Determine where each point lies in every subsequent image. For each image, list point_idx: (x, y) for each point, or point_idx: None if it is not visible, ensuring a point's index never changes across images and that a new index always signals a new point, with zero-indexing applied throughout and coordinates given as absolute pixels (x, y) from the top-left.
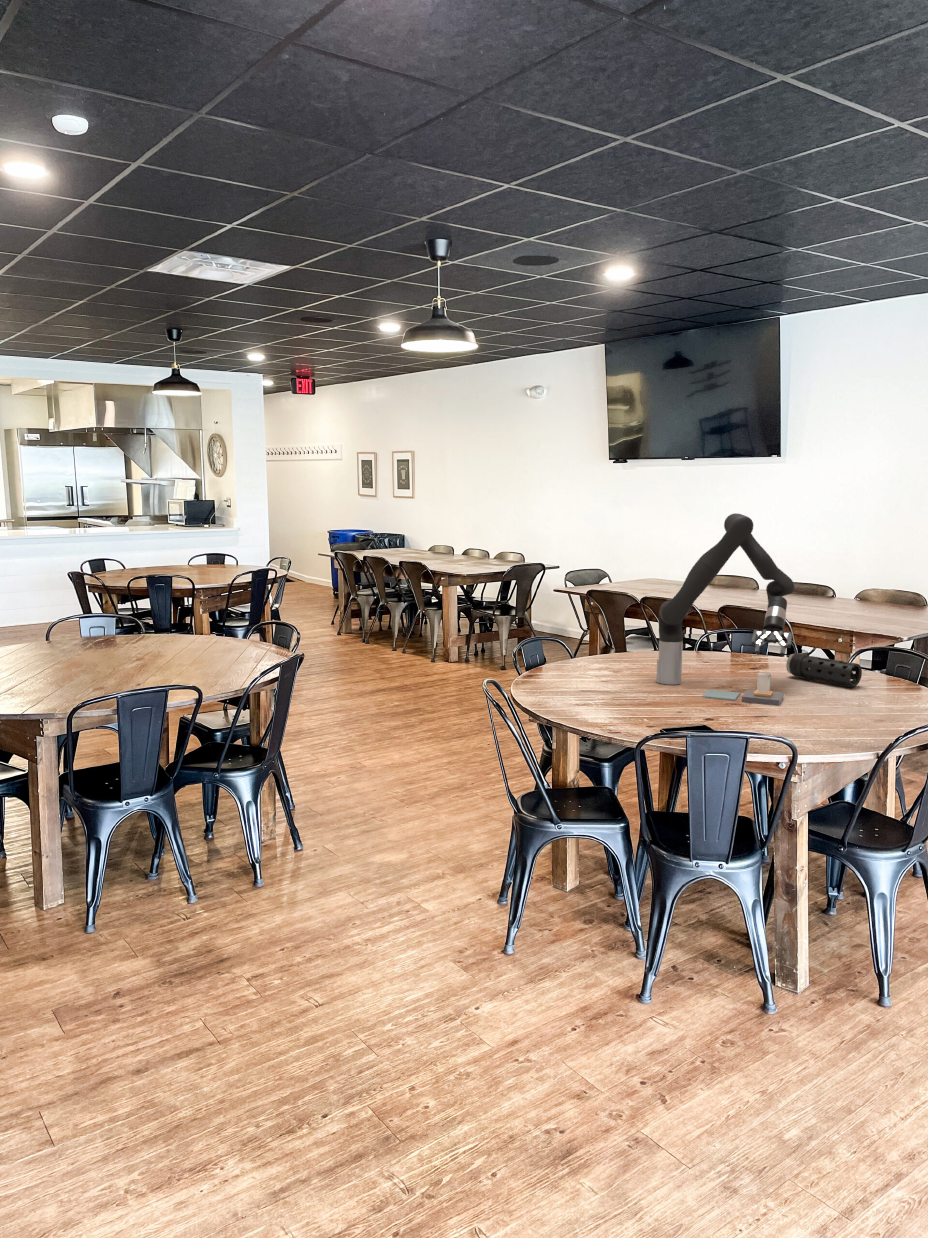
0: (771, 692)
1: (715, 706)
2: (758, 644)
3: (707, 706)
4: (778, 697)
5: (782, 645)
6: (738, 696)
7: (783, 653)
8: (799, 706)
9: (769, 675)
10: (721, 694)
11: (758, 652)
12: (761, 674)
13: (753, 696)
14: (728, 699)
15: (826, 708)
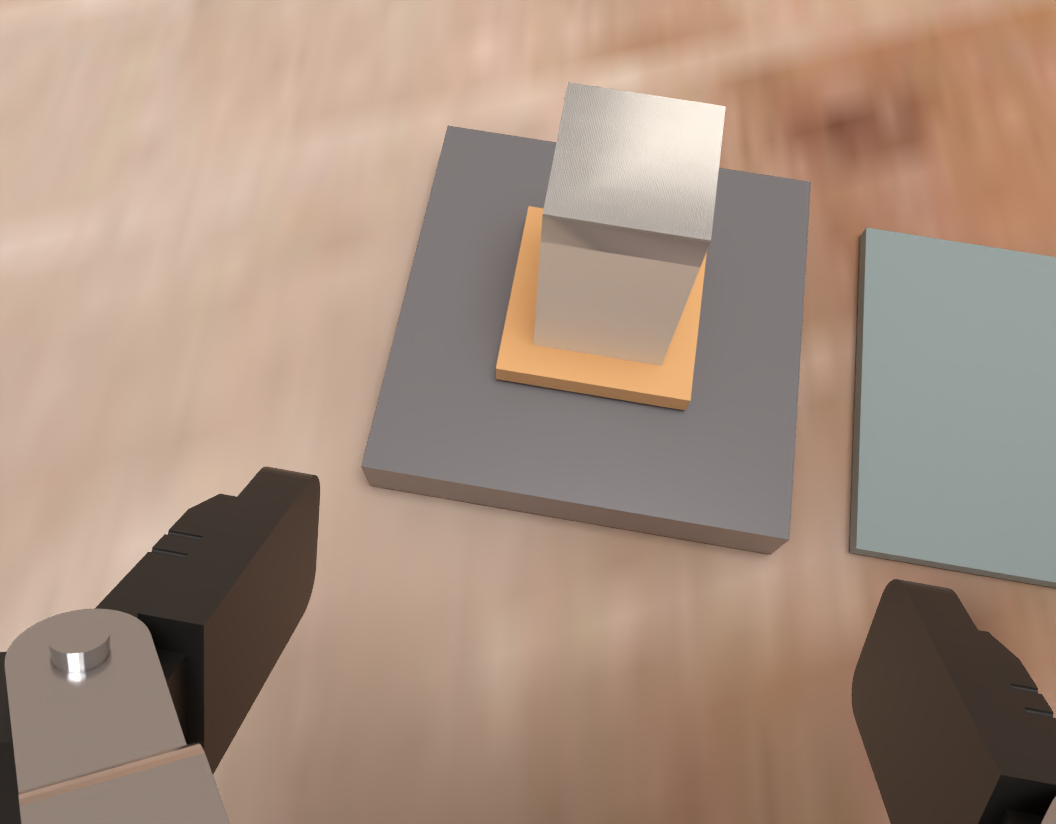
0: (515, 308)
1: (985, 25)
2: (1031, 767)
3: (1045, 11)
4: (446, 236)
5: (148, 652)
6: (854, 424)
7: (221, 499)
8: (262, 188)
9: (561, 120)
10: (1038, 396)
11: (882, 631)
12: (673, 98)
13: None
14: (927, 241)
15: (19, 177)
